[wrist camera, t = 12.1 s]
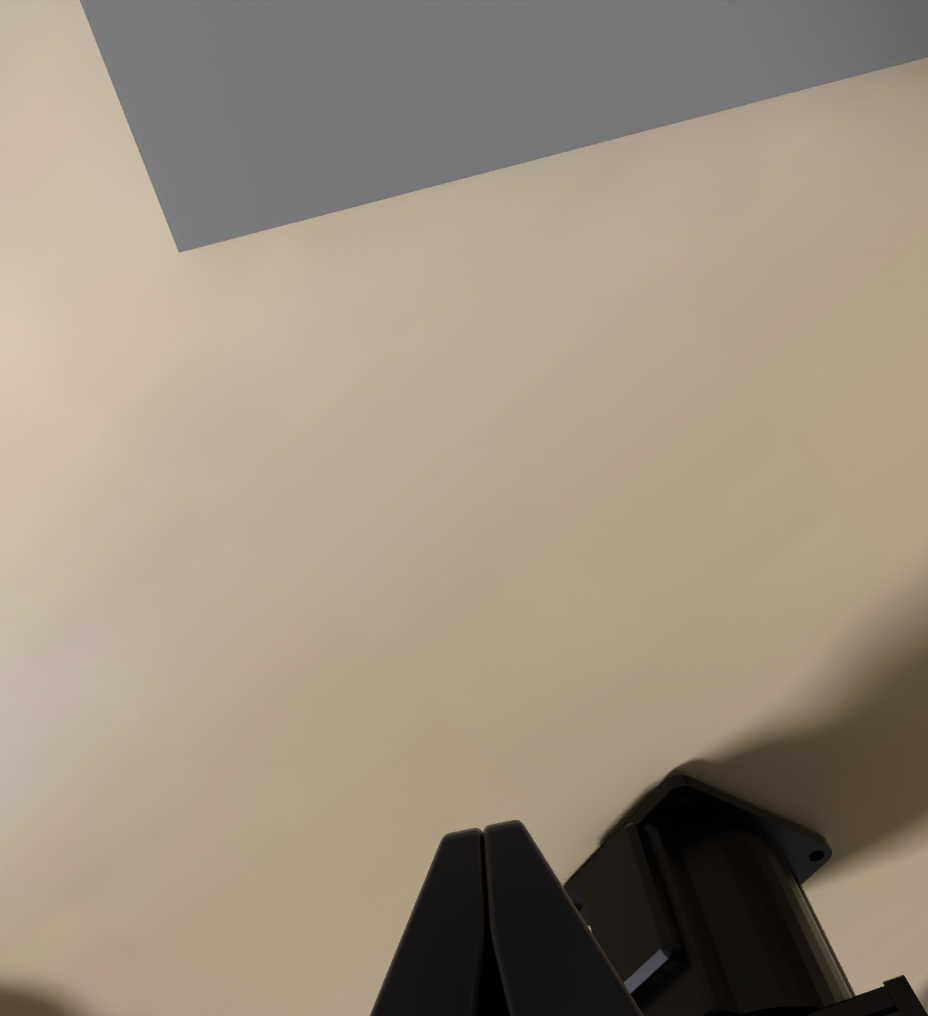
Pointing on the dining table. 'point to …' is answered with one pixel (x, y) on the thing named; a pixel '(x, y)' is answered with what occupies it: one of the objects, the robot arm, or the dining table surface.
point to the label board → (442, 87)
